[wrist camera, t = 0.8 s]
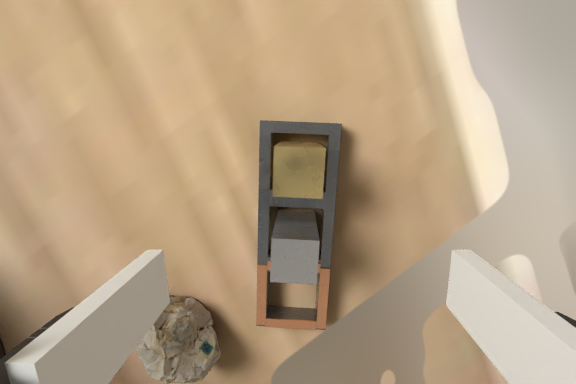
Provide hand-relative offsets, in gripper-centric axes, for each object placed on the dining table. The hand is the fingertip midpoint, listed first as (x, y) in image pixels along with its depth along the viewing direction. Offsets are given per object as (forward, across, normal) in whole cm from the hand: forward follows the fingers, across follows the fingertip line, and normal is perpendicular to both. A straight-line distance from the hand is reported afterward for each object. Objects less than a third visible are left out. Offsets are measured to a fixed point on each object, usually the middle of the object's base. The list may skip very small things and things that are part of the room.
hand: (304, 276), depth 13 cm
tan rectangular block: (+23, -1, +3) cm, 23 cm away
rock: (+23, -16, -19) cm, 34 cm away
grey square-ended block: (+23, -1, -6) cm, 24 cm away
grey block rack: (+23, -1, -6) cm, 24 cm away
